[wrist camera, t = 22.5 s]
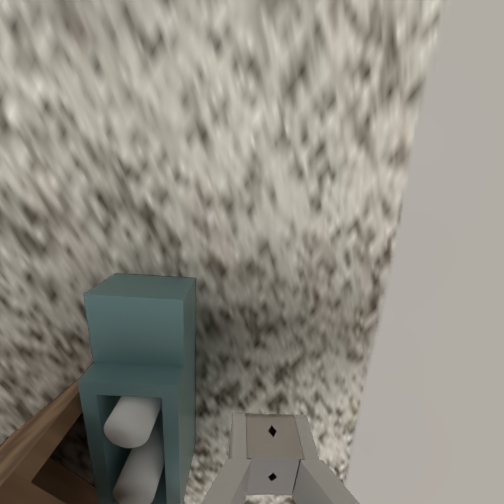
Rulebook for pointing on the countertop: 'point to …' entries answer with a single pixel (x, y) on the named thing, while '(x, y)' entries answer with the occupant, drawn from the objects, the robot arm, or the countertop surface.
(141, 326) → the tray
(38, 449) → the nook
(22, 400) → the countertop surface
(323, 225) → the countertop surface
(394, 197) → the countertop surface
